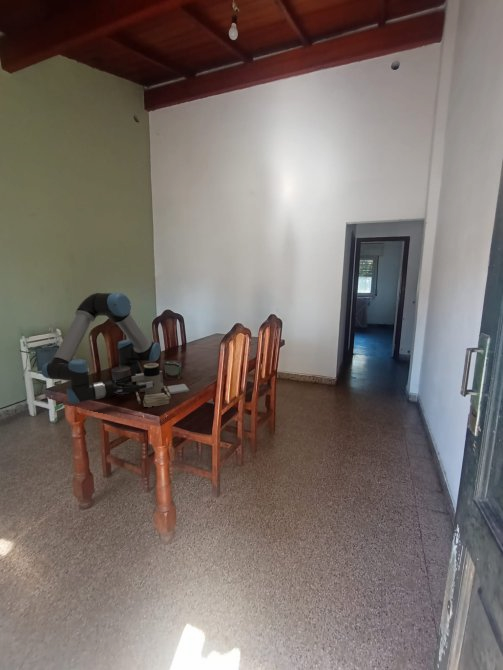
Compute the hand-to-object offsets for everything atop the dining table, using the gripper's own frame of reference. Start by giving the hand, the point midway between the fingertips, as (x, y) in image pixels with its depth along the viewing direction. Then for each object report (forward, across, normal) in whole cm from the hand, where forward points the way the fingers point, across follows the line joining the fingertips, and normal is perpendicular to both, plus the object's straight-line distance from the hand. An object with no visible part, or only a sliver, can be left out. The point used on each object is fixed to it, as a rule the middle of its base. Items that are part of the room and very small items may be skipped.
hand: (148, 380), depth 173 cm
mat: (+17, -5, -10) cm, 21 cm away
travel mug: (+2, 0, -11) cm, 11 cm away
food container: (+24, -26, -11) cm, 37 cm away
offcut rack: (+2, -2, -10) cm, 11 cm away
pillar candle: (-9, -19, -11) cm, 23 cm away
